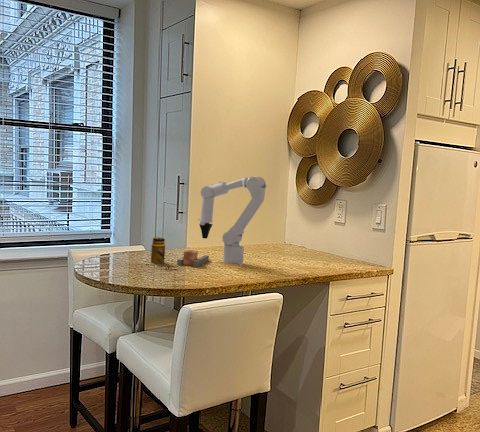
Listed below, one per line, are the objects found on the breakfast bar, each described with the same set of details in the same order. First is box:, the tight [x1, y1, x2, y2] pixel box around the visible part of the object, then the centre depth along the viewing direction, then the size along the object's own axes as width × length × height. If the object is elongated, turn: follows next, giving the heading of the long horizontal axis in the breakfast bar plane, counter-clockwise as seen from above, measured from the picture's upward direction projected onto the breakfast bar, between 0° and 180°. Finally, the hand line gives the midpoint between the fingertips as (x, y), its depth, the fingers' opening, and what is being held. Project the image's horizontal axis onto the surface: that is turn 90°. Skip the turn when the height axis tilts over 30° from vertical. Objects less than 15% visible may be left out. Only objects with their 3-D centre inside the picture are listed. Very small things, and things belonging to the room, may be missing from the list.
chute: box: [176, 254, 210, 268], centre depth 224 cm, size 10×18×3 cm, turn 168°
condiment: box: [145, 237, 166, 267], centre depth 218 cm, size 7×8×12 cm
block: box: [182, 249, 199, 267], centre depth 219 cm, size 5×5×6 cm
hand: (204, 238), depth 238 cm, fingers closed
